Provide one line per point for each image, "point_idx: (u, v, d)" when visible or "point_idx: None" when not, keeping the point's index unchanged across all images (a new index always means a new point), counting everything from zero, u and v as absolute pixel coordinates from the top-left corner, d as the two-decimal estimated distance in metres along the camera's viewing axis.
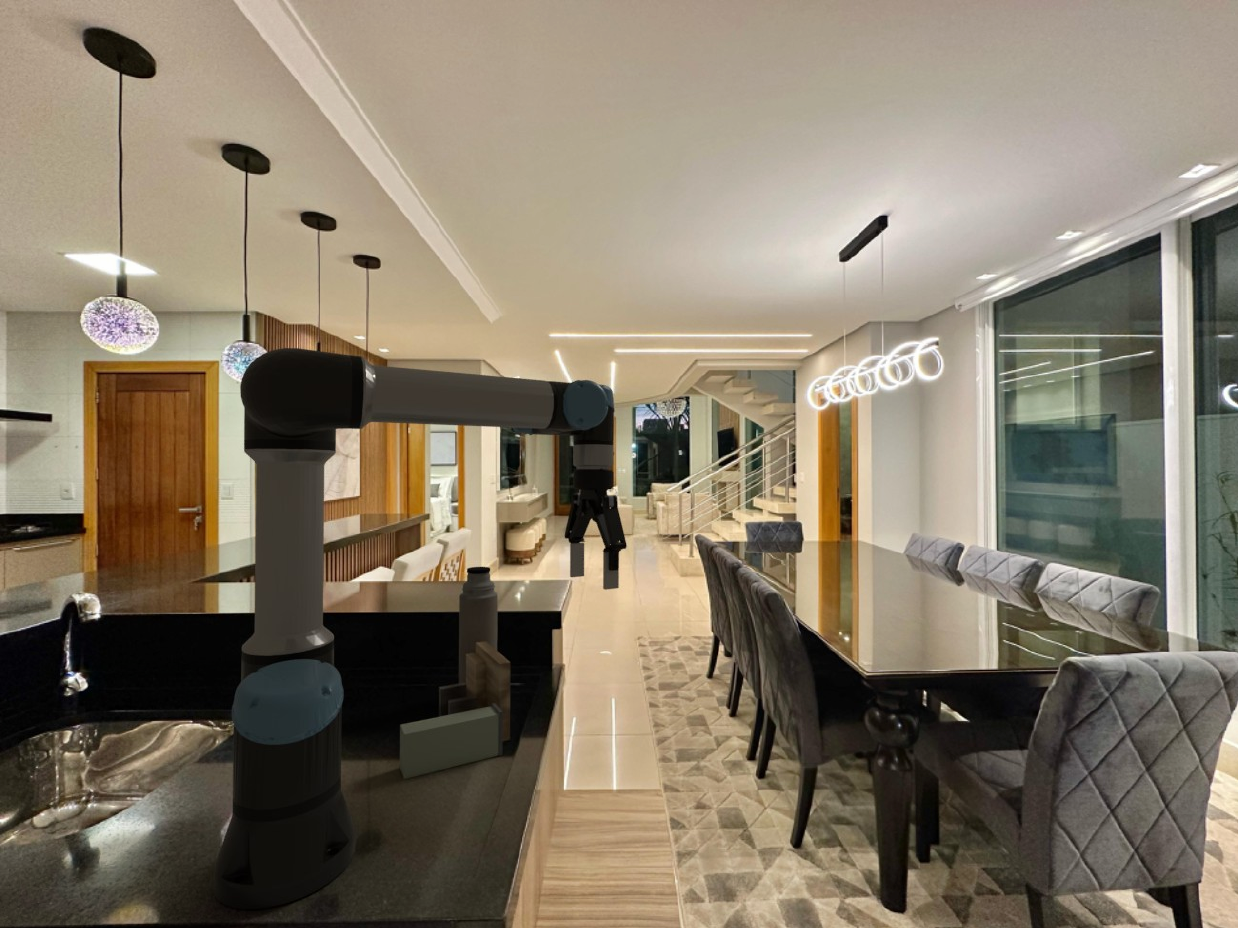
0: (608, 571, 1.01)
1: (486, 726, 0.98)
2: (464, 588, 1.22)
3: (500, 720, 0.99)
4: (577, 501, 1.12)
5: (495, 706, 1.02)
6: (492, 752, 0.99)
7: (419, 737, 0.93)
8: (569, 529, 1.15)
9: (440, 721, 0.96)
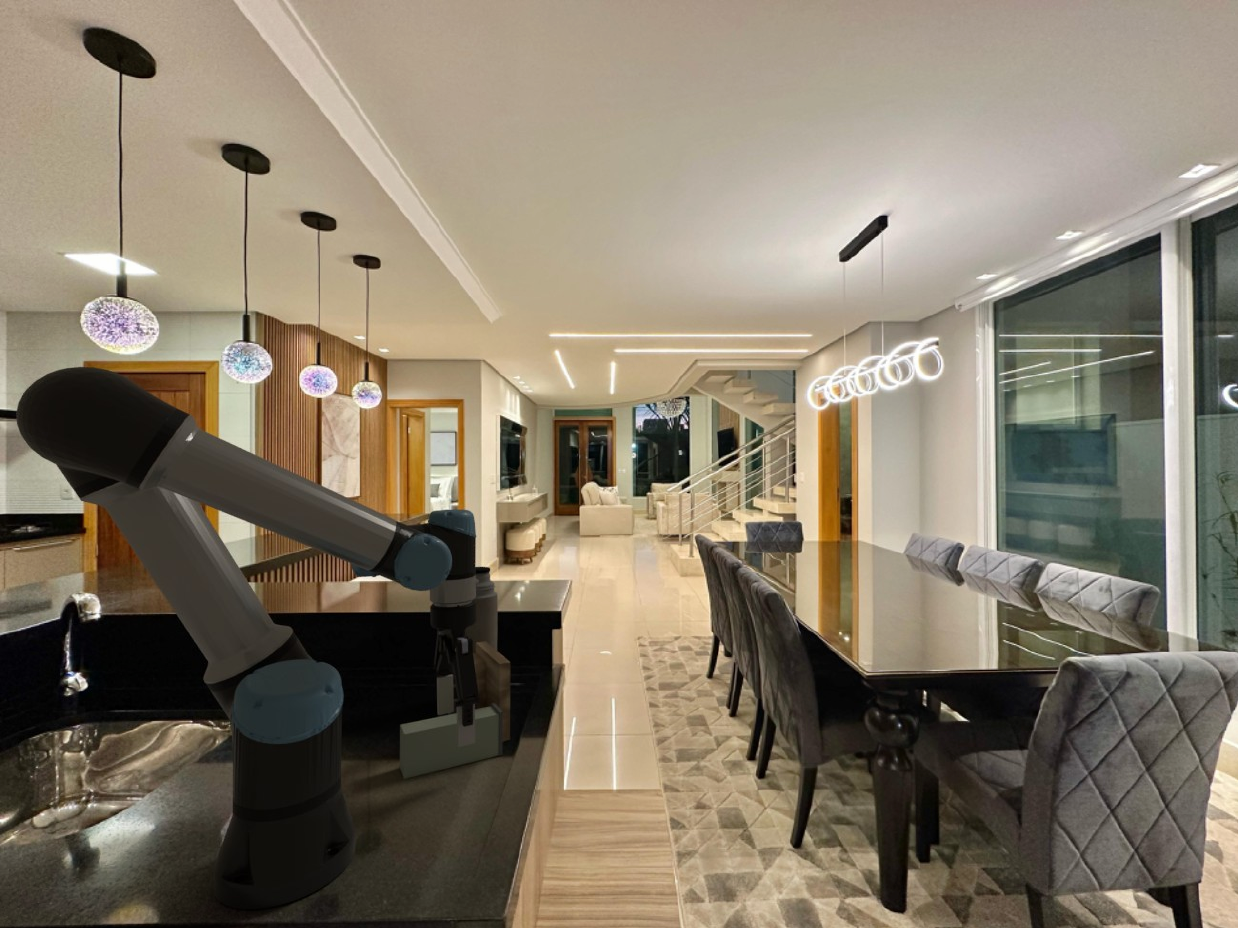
0: (461, 725, 0.91)
1: (486, 726, 0.98)
2: None
3: (500, 720, 0.99)
4: (442, 632, 1.02)
5: (495, 706, 1.02)
6: (492, 752, 0.99)
7: (420, 737, 0.93)
8: (437, 660, 1.04)
9: (440, 721, 0.96)
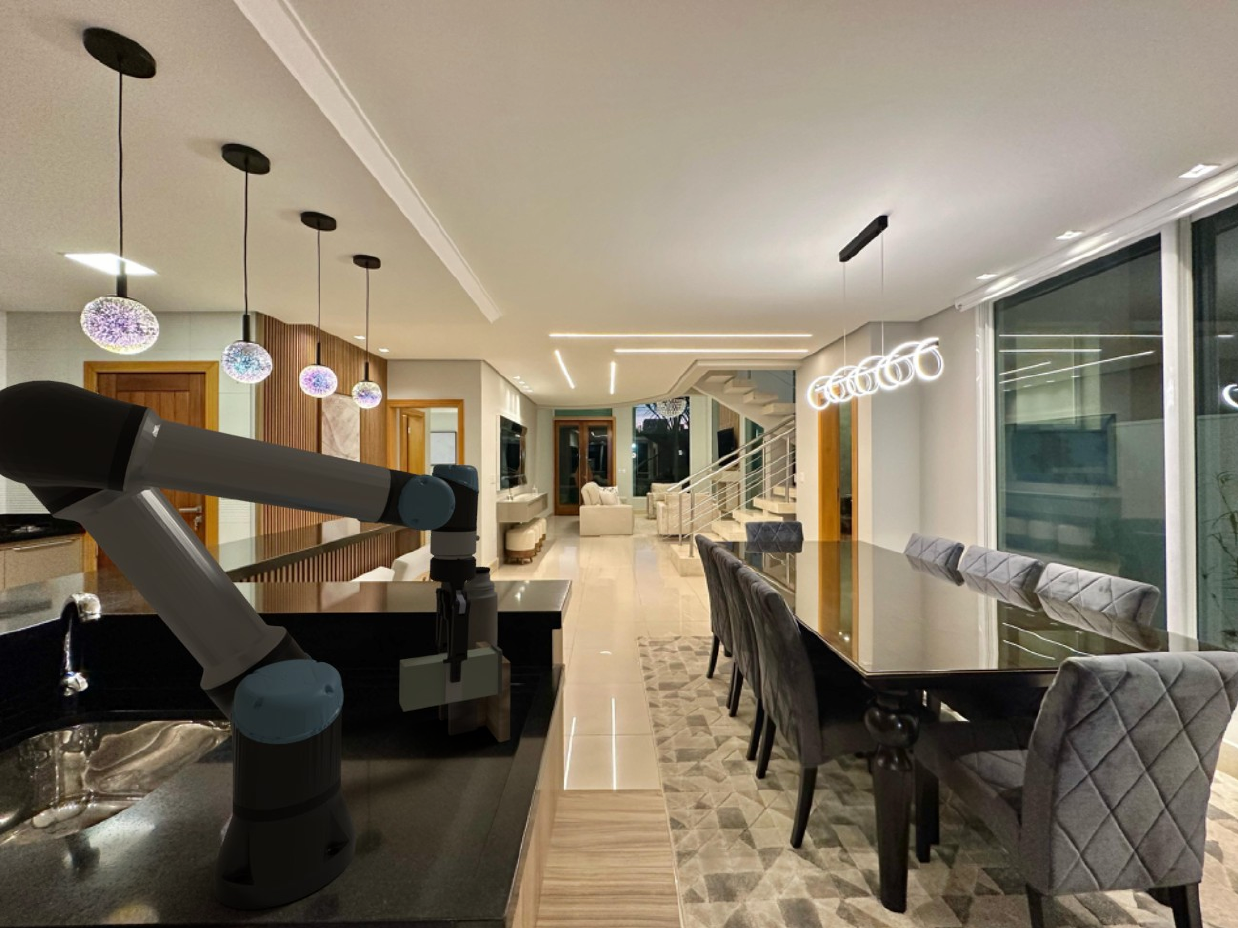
0: (449, 682, 0.94)
1: (486, 664, 0.98)
2: None
3: (500, 659, 0.99)
4: None
5: (495, 646, 1.02)
6: (491, 690, 0.99)
7: (419, 671, 0.93)
8: (438, 632, 1.01)
9: (440, 658, 0.96)
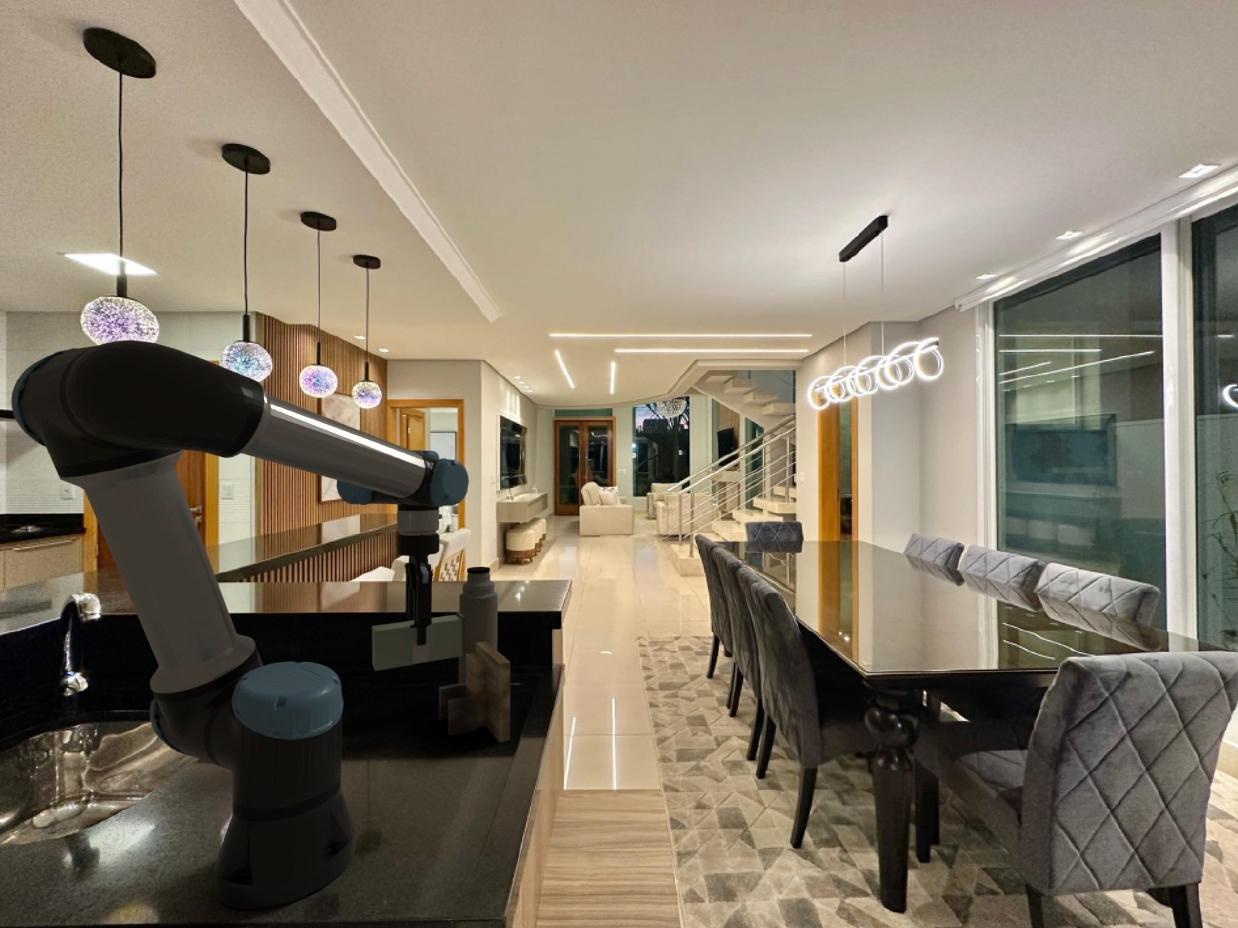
0: (416, 645, 1.05)
1: (450, 629, 1.09)
2: (464, 588, 1.22)
3: (463, 624, 1.10)
4: None
5: (459, 614, 1.13)
6: (456, 653, 1.10)
7: (389, 635, 1.04)
8: (407, 602, 1.12)
9: (408, 624, 1.07)
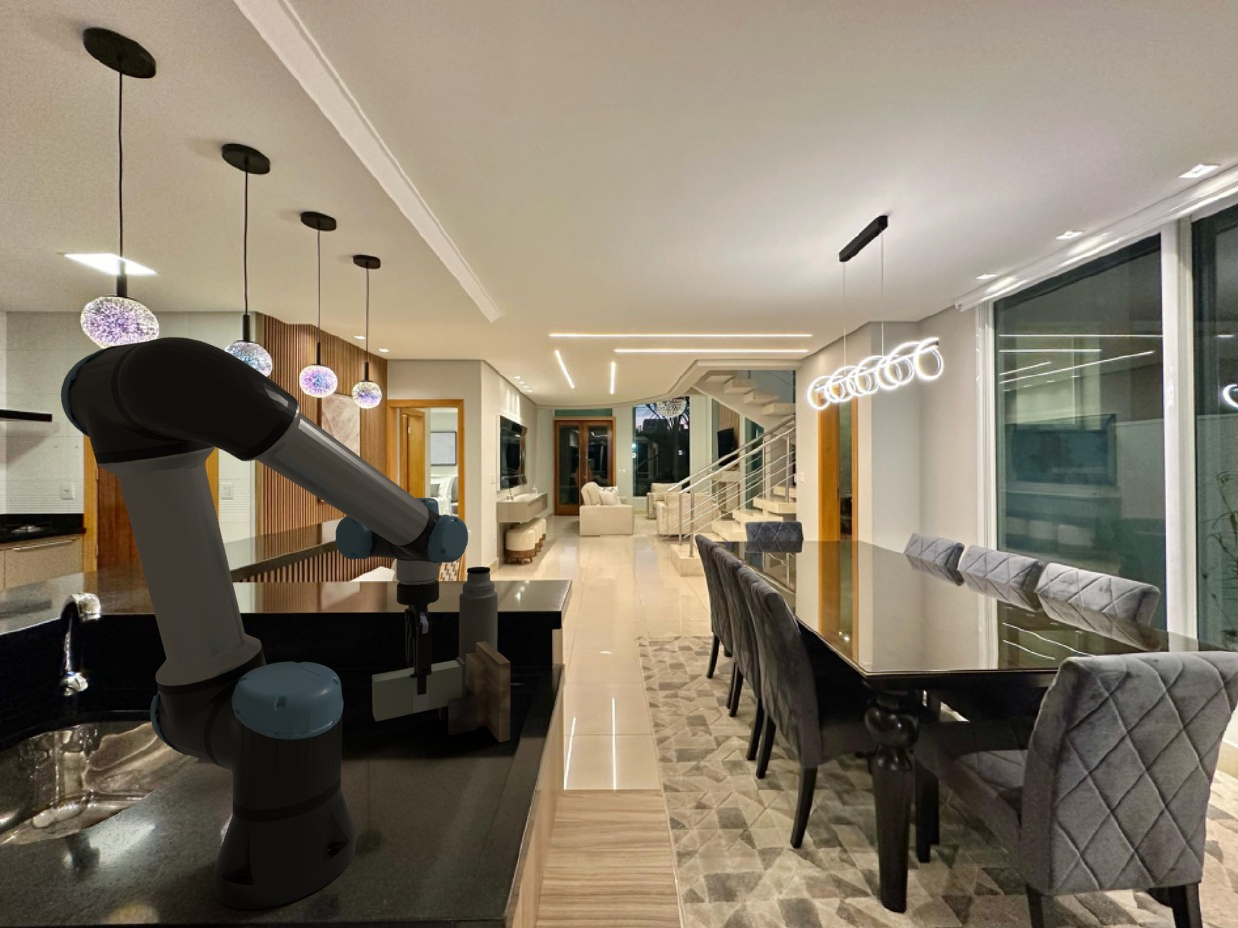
0: (416, 694, 1.05)
1: (450, 676, 1.09)
2: (464, 588, 1.22)
3: (463, 671, 1.10)
4: None
5: (459, 659, 1.13)
6: None
7: (389, 685, 1.04)
8: (407, 648, 1.12)
9: (408, 672, 1.07)
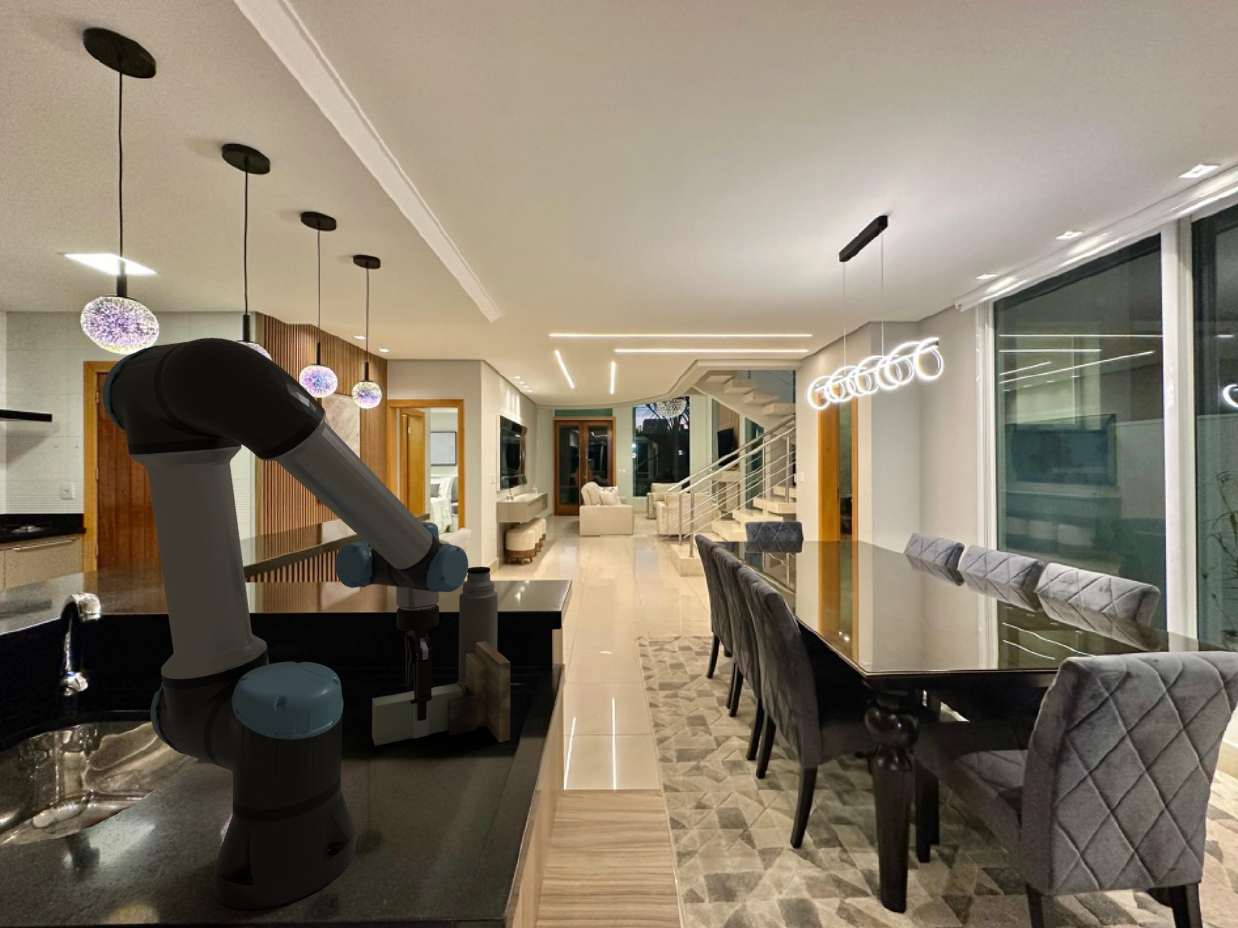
0: (416, 720, 1.05)
1: None
2: (464, 588, 1.22)
3: (463, 695, 1.10)
4: None
5: (460, 683, 1.13)
6: None
7: (389, 709, 1.04)
8: (407, 672, 1.12)
9: (408, 696, 1.07)
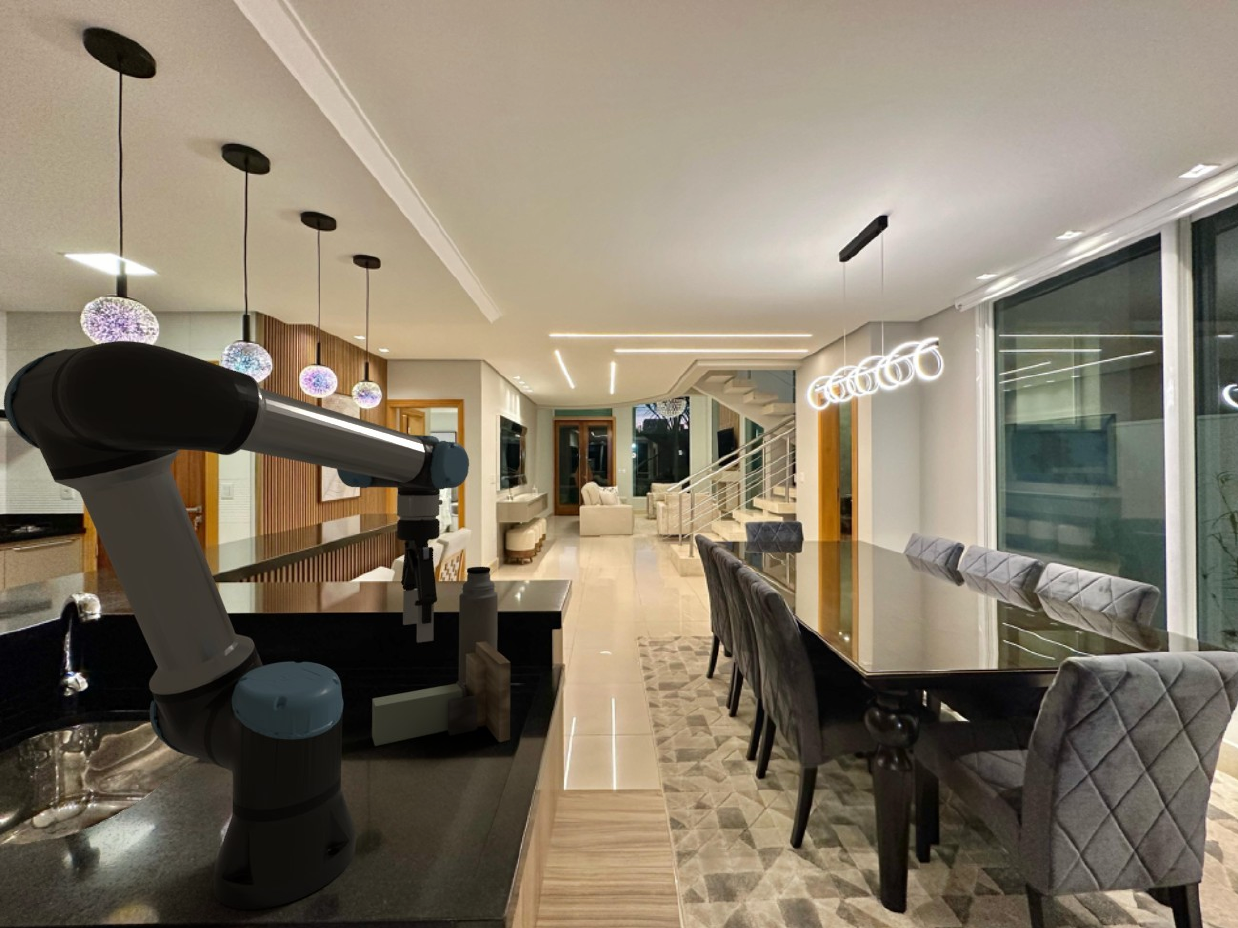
0: (420, 623, 1.02)
1: None
2: (464, 588, 1.22)
3: (463, 695, 1.10)
4: (409, 549, 1.13)
5: (460, 683, 1.13)
6: None
7: (389, 709, 1.04)
8: (404, 576, 1.15)
9: (408, 696, 1.07)
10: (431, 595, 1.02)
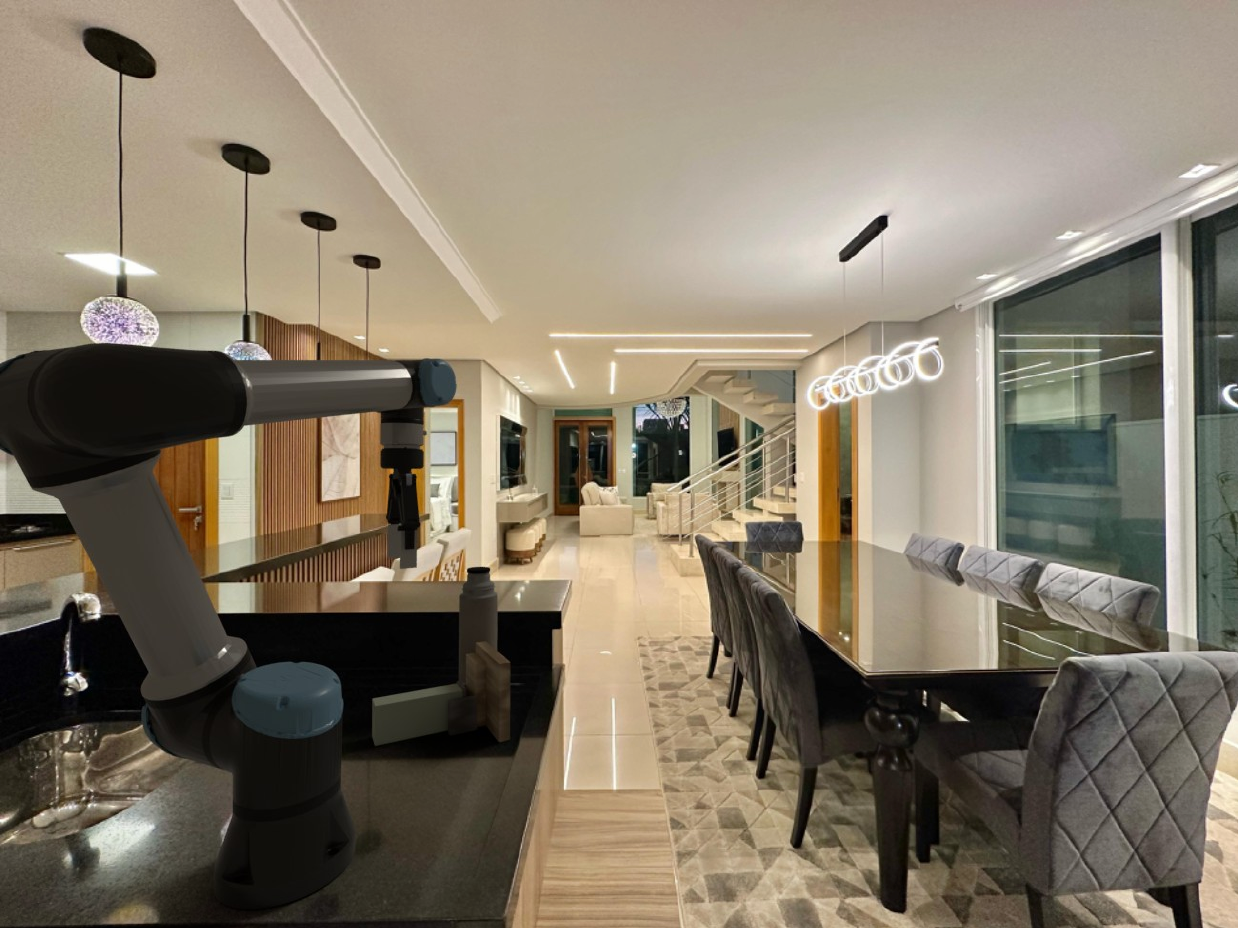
0: (403, 550, 1.00)
1: None
2: (464, 588, 1.22)
3: (463, 695, 1.10)
4: None
5: (460, 683, 1.13)
6: None
7: (389, 709, 1.04)
8: (389, 510, 1.14)
9: (408, 696, 1.07)
10: None
